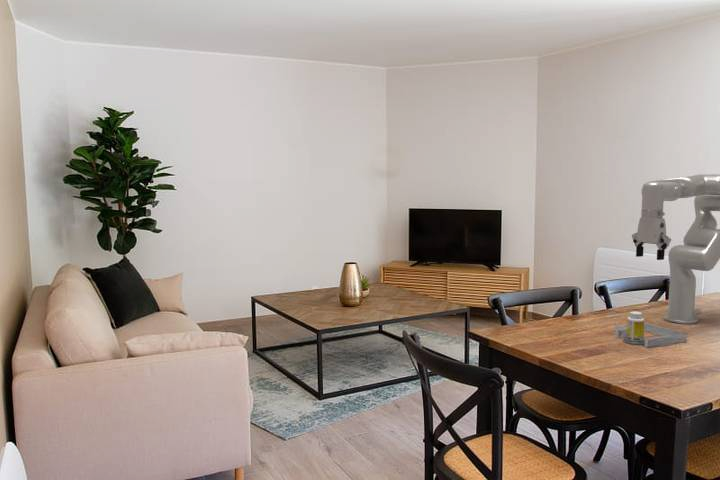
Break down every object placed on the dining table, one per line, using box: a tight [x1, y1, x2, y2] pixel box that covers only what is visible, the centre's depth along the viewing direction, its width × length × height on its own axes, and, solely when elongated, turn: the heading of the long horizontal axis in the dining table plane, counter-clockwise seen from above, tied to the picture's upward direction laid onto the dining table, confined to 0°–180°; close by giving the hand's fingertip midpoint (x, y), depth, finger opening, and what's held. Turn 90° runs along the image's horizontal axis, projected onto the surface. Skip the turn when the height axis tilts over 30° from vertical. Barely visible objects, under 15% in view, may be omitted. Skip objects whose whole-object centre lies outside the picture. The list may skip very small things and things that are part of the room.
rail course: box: [614, 321, 688, 349], centre depth 216 cm, size 19×19×3 cm
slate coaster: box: [622, 337, 645, 346], centre depth 211 cm, size 8×8×1 cm
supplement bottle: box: [626, 311, 645, 342], centre depth 211 cm, size 6×6×10 cm
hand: (649, 258), depth 226 cm, fingers open, 9 cm apart
